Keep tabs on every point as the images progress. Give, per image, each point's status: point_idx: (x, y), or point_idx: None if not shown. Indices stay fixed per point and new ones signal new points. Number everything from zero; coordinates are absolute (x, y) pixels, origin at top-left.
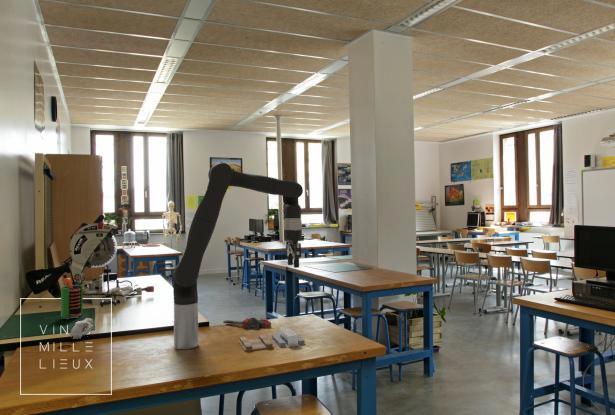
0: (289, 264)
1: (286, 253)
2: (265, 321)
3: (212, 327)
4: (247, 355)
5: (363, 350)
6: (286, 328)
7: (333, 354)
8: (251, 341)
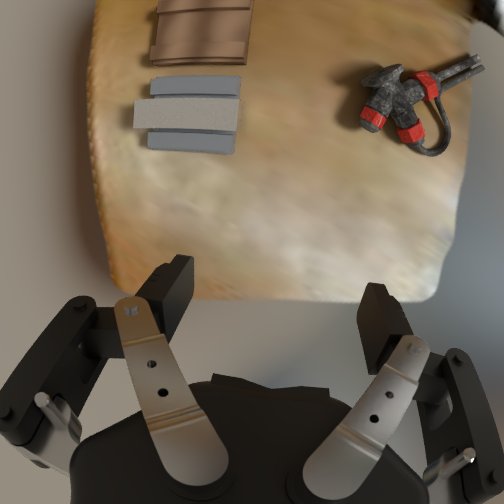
0: (366, 292)
1: (452, 358)
2: (375, 112)
3: (455, 19)
4: None
5: (108, 252)
6: (212, 119)
7: (101, 188)
8: (225, 20)
